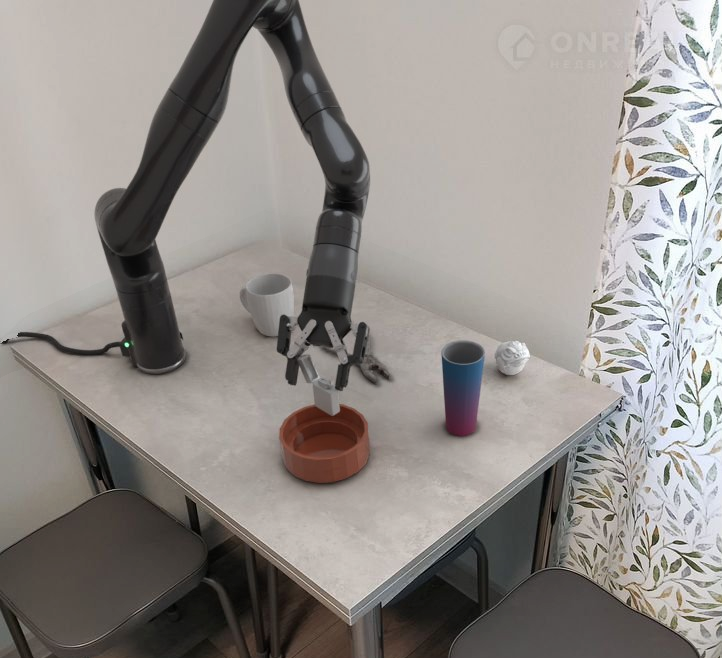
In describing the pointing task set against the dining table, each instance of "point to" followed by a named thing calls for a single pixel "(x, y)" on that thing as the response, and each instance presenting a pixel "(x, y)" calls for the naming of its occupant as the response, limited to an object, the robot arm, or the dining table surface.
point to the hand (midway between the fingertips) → (315, 387)
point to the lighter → (320, 387)
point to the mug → (268, 301)
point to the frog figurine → (511, 357)
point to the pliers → (368, 364)
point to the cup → (462, 385)
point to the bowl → (324, 443)
